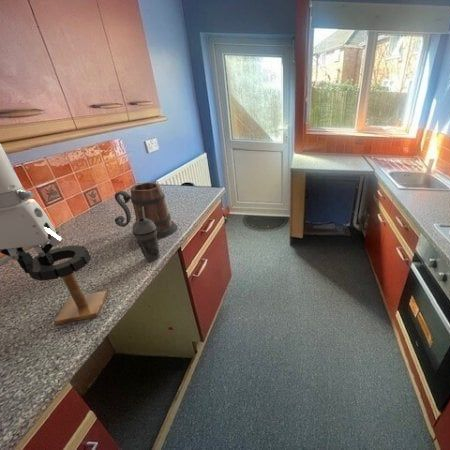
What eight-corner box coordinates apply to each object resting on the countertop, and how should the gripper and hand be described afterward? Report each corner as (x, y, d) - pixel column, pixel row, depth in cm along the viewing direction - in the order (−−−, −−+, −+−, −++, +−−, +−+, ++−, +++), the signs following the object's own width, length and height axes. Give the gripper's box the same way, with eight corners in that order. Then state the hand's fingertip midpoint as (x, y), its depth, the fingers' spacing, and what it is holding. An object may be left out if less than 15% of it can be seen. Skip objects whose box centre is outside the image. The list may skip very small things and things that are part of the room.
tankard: (182, 221, 117) (174, 179, 107) (170, 239, 102) (159, 193, 93) (129, 221, 114) (116, 179, 105) (108, 241, 99) (90, 193, 90)
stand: (55, 324, 64) (32, 285, 58) (71, 300, 71) (51, 262, 65) (97, 316, 67) (79, 278, 60) (108, 293, 74) (92, 257, 68)
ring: (19, 284, 56) (14, 276, 55) (45, 256, 65) (41, 249, 64) (80, 275, 59) (76, 267, 58) (96, 250, 68) (93, 242, 67)
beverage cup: (139, 256, 91) (123, 206, 82) (160, 249, 95) (148, 201, 86) (143, 266, 86) (127, 214, 77) (166, 258, 90) (153, 208, 81)
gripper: (57, 189, 58) (86, 254, 66) (-38, 195, 53) (7, 265, 61) (40, 201, 52) (74, 271, 60) (-69, 209, 47) (-15, 285, 55)
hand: (40, 267), depth 61 cm, fingers closed on ring, 2 cm apart
